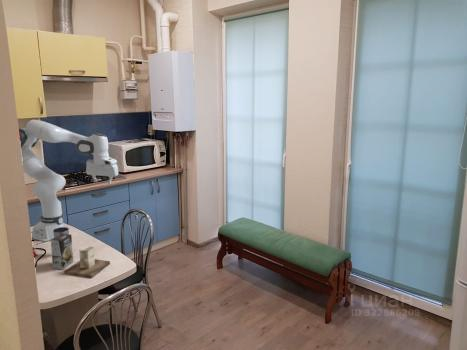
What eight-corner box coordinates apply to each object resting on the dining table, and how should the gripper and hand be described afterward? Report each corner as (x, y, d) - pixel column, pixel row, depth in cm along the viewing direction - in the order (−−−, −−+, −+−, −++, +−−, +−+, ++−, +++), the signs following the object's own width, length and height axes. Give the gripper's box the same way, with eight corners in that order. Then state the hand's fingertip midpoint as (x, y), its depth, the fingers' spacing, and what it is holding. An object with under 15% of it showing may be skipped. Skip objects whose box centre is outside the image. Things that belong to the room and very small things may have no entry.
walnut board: (64, 273, 185) (64, 270, 185) (84, 260, 200) (84, 257, 200) (92, 278, 181) (92, 275, 181) (109, 263, 197) (109, 261, 196)
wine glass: (73, 252, 209) (71, 227, 206) (64, 258, 202) (62, 232, 199) (61, 250, 211) (59, 226, 208) (52, 256, 204) (49, 231, 200)
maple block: (80, 267, 189) (79, 249, 186) (86, 263, 193) (85, 245, 191) (89, 268, 188) (87, 250, 185) (94, 264, 192) (93, 247, 190)
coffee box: (63, 269, 189) (60, 240, 186) (52, 268, 190) (49, 239, 187) (74, 261, 198) (71, 234, 194) (63, 260, 199) (61, 233, 195)
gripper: (83, 160, 217) (84, 182, 220) (113, 162, 212) (114, 185, 215) (89, 158, 223) (90, 180, 226) (119, 160, 218) (120, 182, 221)
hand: (102, 182), depth 220 cm, fingers open, 8 cm apart
